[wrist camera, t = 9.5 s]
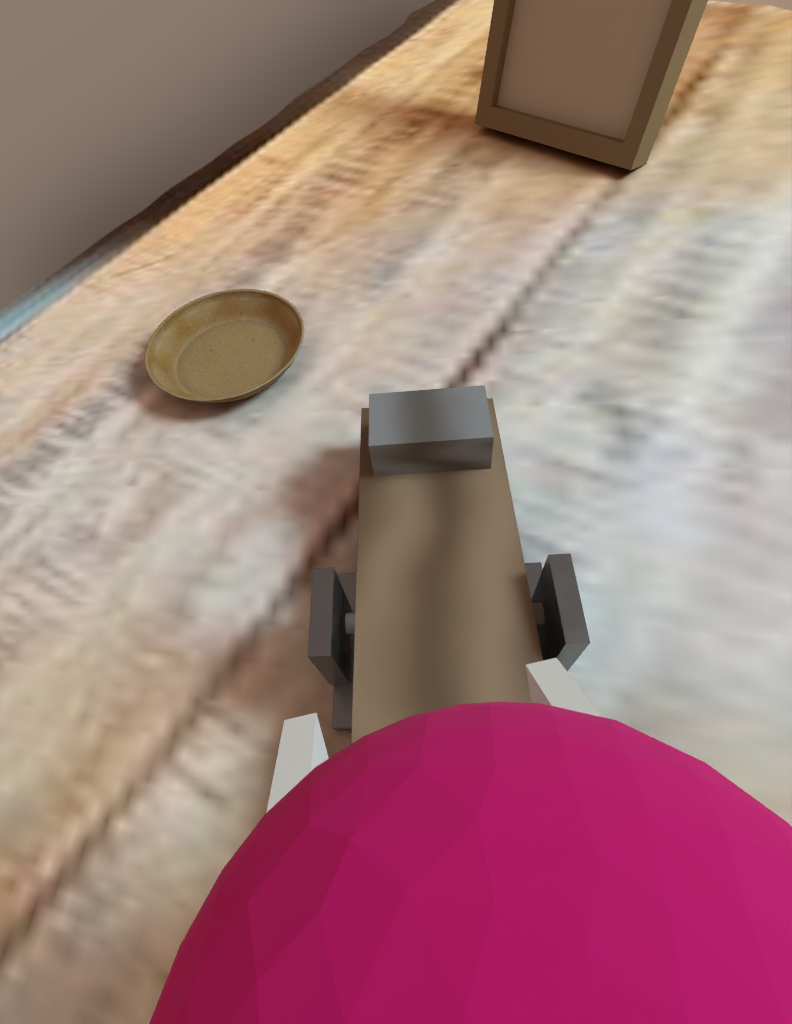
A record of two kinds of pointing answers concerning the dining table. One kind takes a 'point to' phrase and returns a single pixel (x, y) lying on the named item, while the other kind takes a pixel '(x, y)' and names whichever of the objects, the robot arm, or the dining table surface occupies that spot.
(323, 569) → the pivot stand
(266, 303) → the plant saucer
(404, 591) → the balance plank
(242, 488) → the dining table surface
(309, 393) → the dining table surface
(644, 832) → the pepper mill
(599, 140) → the photo frame
